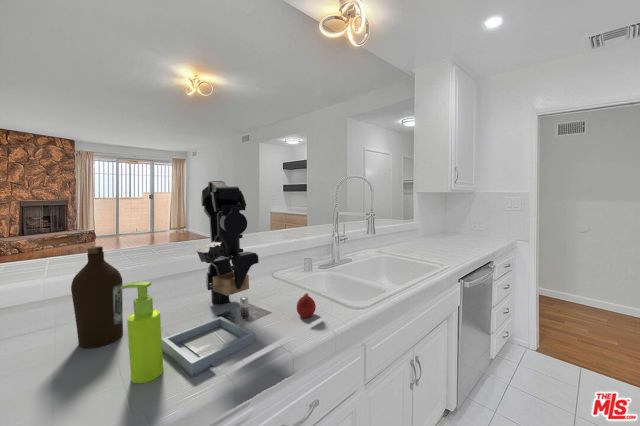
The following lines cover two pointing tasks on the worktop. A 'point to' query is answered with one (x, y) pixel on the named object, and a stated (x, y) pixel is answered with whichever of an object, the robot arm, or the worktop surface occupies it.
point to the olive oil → (97, 301)
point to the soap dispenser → (144, 336)
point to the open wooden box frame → (228, 284)
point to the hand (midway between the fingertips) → (230, 286)
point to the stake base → (246, 318)
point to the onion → (306, 306)
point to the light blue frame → (200, 364)
